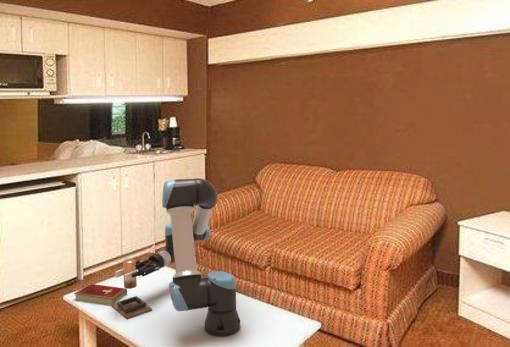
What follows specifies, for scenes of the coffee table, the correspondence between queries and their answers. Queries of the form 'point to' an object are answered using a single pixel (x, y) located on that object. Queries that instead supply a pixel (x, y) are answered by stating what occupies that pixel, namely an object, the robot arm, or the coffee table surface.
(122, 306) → the duct base
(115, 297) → the hardcover book
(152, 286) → the coffee table surface
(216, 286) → the robot arm
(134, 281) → the brushed copper cylinder
